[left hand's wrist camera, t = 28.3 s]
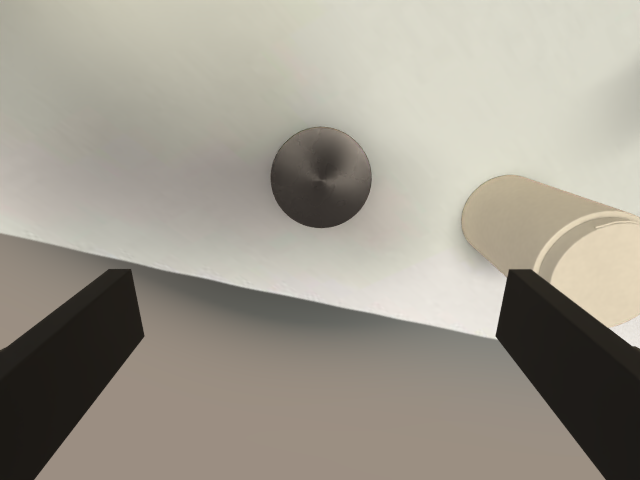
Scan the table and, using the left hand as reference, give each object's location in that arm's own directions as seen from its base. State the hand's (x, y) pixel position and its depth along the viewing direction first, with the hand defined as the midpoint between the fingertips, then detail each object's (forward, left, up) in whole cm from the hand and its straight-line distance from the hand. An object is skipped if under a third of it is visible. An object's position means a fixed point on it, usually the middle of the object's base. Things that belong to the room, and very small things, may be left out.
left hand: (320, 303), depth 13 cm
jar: (+20, 0, -26) cm, 33 cm away
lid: (0, 0, -24) cm, 24 cm away
